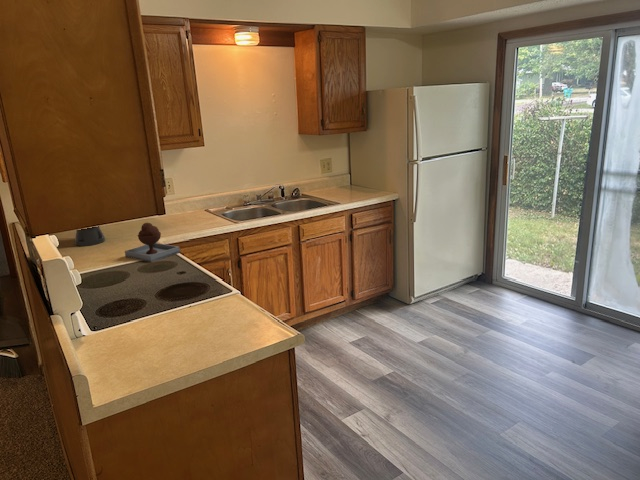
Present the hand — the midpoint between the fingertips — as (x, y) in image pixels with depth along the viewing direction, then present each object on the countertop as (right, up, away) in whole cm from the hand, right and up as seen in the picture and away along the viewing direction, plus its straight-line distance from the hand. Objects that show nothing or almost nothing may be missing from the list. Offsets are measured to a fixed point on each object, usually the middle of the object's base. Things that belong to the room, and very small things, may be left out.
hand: (121, 186), depth 244 cm
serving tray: (+18, -35, -7) cm, 40 cm away
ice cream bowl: (+18, -34, -7) cm, 39 cm away
